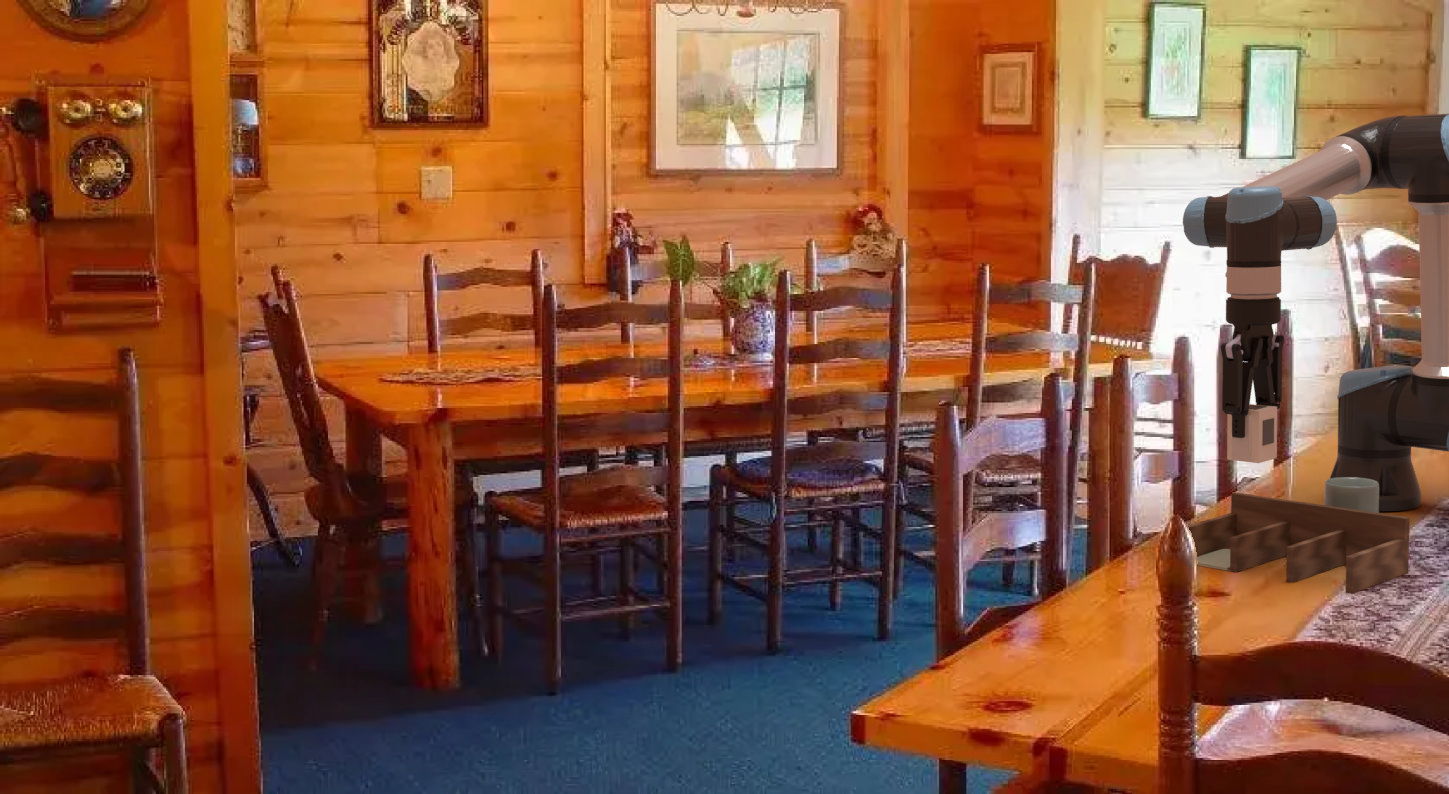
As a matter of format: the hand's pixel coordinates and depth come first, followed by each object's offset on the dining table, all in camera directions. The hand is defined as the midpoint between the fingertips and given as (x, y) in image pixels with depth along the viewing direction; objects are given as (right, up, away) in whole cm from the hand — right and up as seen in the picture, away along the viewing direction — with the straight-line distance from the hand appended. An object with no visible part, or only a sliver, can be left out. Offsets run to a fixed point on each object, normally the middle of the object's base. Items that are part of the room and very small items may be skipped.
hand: (1251, 456), depth 253 cm
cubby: (+6, -16, +2) cm, 18 cm away
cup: (+19, -14, +13) cm, 27 cm away
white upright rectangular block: (0, 0, 0) cm, 0 cm away
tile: (-2, -16, +7) cm, 17 cm away
